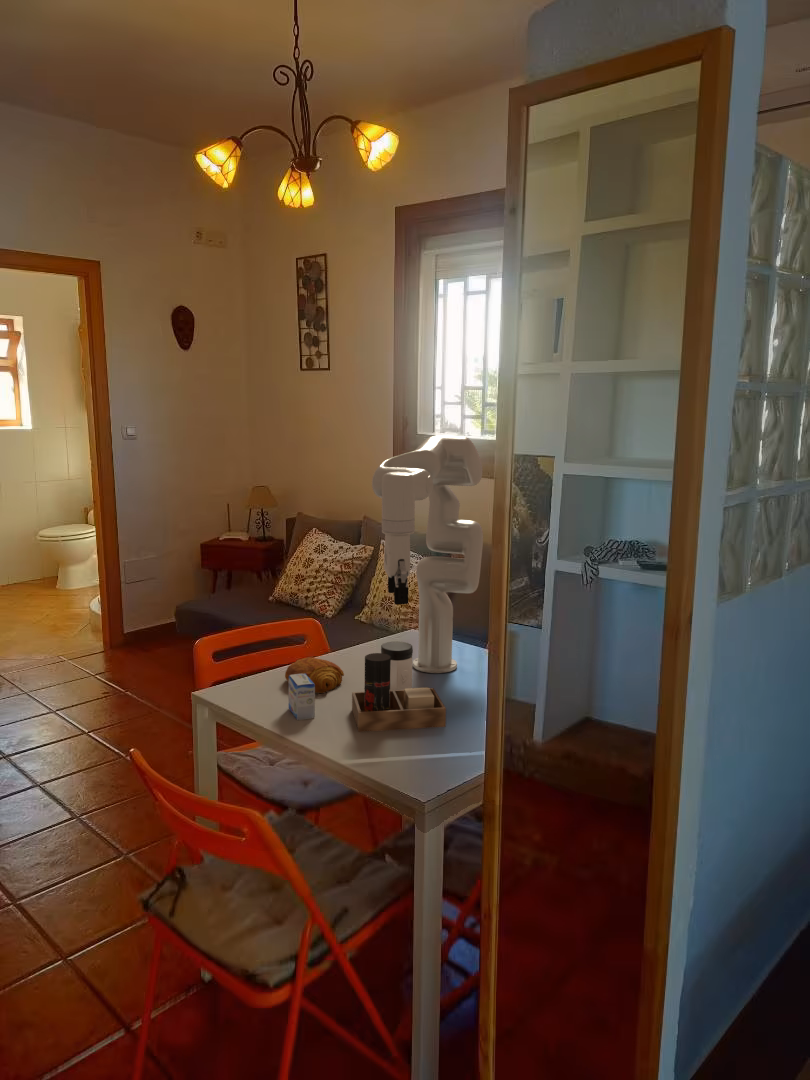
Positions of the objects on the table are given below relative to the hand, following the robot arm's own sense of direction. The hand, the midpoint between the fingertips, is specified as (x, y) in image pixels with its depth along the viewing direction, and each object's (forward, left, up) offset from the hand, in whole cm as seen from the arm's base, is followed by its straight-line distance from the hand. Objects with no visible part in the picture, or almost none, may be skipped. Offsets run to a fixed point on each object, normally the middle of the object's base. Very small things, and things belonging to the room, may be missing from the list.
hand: (397, 598), depth 185 cm
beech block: (+4, +5, -28) cm, 29 cm away
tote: (+4, 0, -29) cm, 29 cm away
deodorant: (+4, -5, -28) cm, 29 cm away
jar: (-15, +3, -29) cm, 33 cm away
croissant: (-23, -18, -29) cm, 41 cm away
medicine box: (-3, -22, -29) cm, 37 cm away
